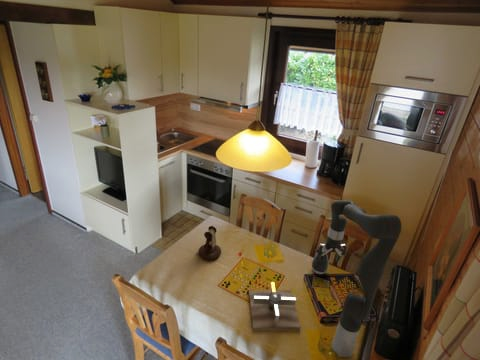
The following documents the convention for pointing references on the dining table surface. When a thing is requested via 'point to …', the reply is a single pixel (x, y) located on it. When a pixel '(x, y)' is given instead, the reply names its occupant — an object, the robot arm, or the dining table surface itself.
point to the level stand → (265, 316)
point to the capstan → (274, 301)
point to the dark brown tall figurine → (210, 245)
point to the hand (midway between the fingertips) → (329, 260)
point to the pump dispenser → (320, 264)
